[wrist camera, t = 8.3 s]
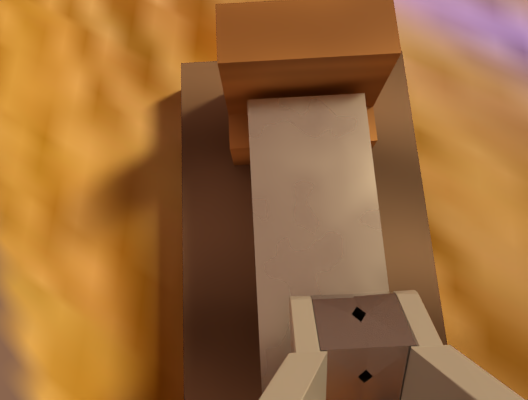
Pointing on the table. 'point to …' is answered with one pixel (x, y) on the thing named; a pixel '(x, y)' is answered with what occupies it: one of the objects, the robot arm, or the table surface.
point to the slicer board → (239, 171)
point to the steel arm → (311, 209)
